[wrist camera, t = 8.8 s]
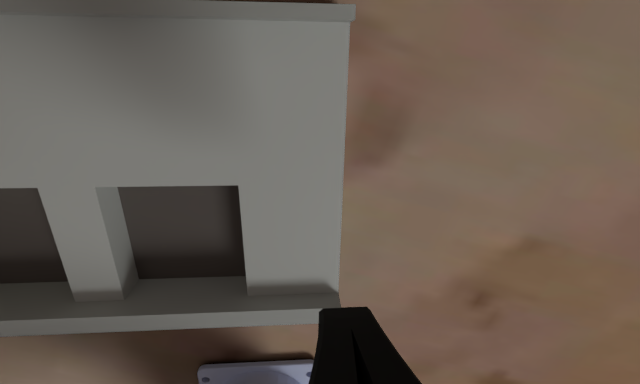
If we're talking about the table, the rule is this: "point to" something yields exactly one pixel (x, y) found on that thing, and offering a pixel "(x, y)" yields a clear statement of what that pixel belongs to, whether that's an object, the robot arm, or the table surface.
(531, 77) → the table surface
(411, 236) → the table surface
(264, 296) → the tray
